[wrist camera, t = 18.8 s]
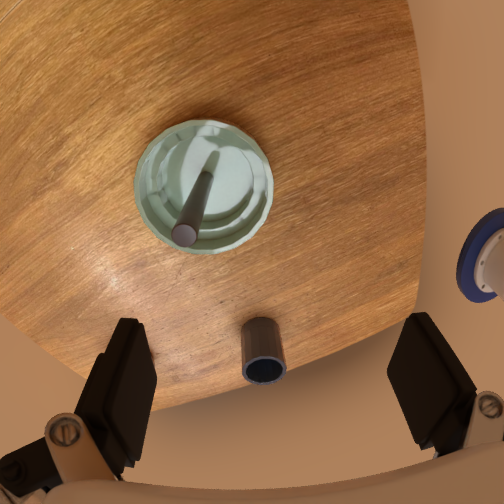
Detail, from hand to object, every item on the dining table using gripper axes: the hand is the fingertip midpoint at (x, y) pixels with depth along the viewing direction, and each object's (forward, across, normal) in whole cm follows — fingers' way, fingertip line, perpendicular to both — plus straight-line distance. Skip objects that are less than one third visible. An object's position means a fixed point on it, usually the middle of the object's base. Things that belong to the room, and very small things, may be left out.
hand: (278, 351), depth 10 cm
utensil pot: (+28, -2, +24) cm, 37 cm away
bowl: (+28, +5, +1) cm, 29 cm away
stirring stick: (+28, +5, +1) cm, 28 cm away
